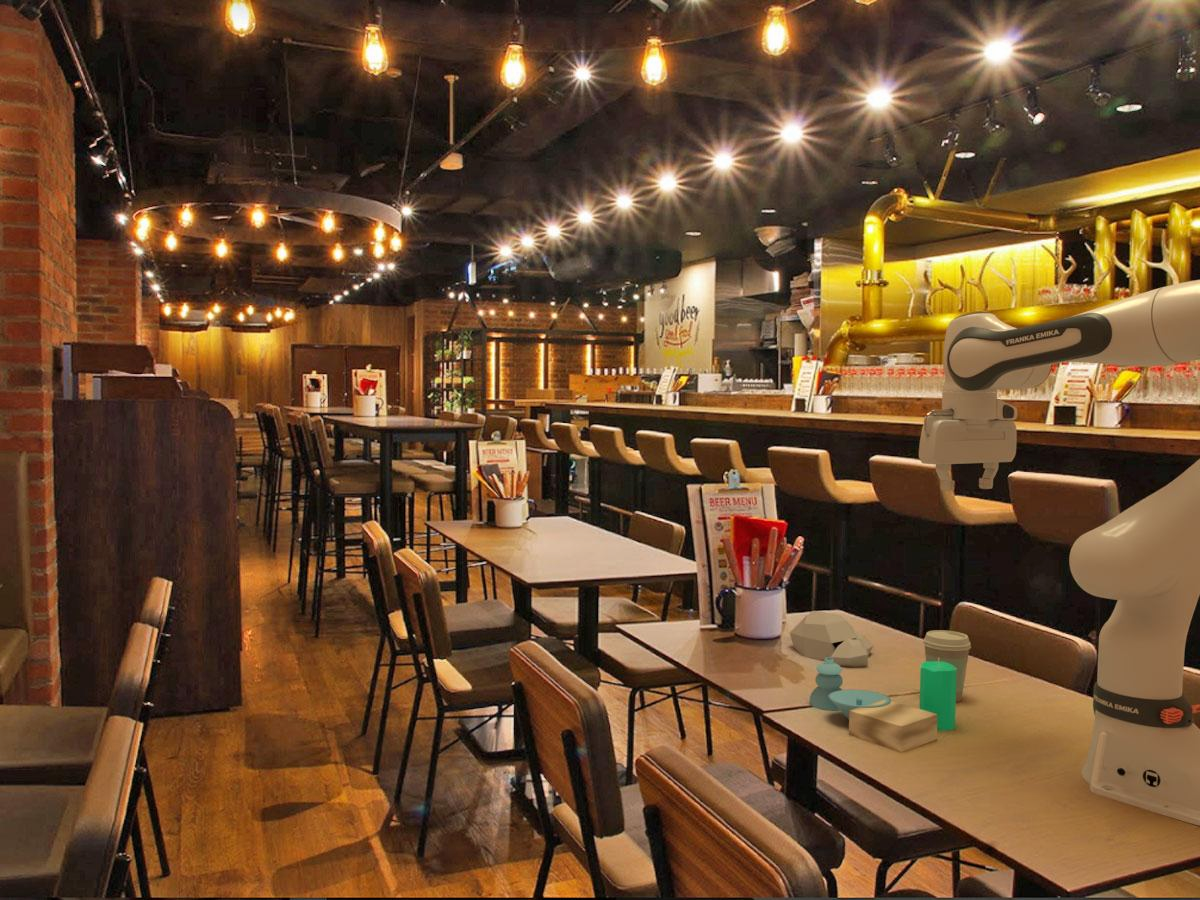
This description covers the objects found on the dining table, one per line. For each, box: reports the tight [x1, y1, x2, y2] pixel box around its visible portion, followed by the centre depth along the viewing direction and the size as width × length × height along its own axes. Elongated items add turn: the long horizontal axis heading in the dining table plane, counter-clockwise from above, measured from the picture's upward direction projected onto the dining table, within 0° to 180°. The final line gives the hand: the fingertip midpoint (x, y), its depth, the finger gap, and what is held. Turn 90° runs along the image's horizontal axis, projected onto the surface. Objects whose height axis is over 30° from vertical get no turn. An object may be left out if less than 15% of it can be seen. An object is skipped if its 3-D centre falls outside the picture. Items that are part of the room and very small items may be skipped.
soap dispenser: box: [809, 658, 892, 720], centre depth 175 cm, size 18×10×9 cm, turn 20°
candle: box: [919, 657, 957, 732], centre depth 171 cm, size 6×6×12 cm
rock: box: [789, 610, 875, 668], centre depth 216 cm, size 18×20×10 cm
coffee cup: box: [922, 629, 972, 703], centre depth 187 cm, size 8×8×12 cm
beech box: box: [848, 700, 938, 753], centre depth 164 cm, size 10×10×5 cm
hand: (966, 489), depth 171 cm, fingers open, 8 cm apart
